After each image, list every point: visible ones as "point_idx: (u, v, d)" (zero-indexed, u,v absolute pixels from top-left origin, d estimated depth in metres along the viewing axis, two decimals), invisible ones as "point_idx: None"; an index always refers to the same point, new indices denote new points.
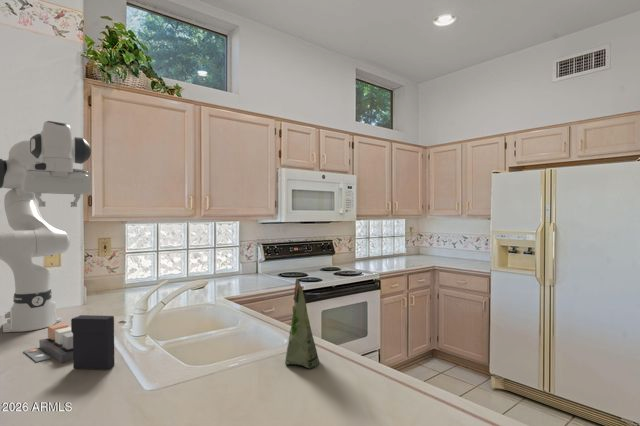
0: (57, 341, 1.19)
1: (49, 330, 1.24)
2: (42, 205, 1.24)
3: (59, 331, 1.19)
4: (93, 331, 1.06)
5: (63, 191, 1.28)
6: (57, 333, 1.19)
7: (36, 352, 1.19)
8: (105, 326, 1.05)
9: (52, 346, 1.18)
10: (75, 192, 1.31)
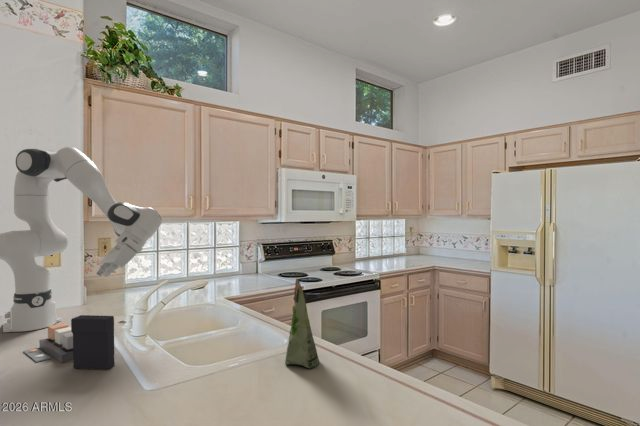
0: (57, 341, 1.19)
1: (49, 330, 1.24)
2: None
3: (59, 331, 1.19)
4: (93, 331, 1.06)
5: None
6: (57, 333, 1.19)
7: (36, 352, 1.19)
8: (105, 326, 1.05)
9: (52, 346, 1.18)
10: None
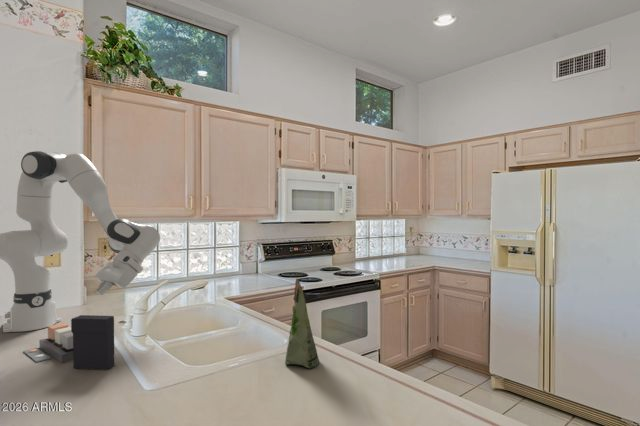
0: (57, 341, 1.19)
1: (49, 330, 1.24)
2: None
3: (59, 331, 1.19)
4: (93, 331, 1.06)
5: None
6: (57, 333, 1.19)
7: (36, 352, 1.19)
8: (105, 326, 1.05)
9: (52, 346, 1.18)
10: None
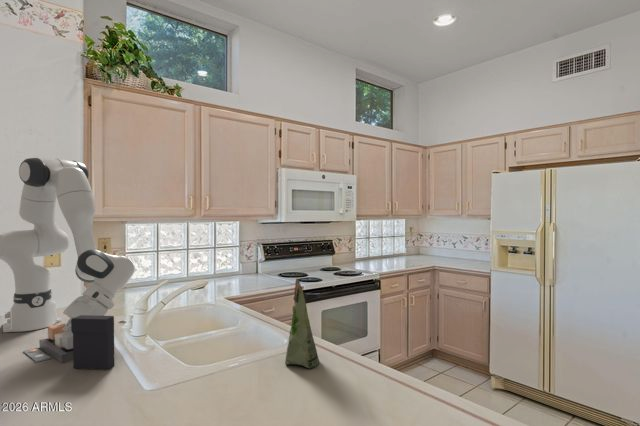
0: (57, 345, 1.19)
1: (49, 330, 1.24)
2: None
3: (59, 335, 1.19)
4: (93, 331, 1.06)
5: None
6: (57, 337, 1.19)
7: (36, 352, 1.19)
8: (105, 326, 1.05)
9: (52, 346, 1.18)
10: None
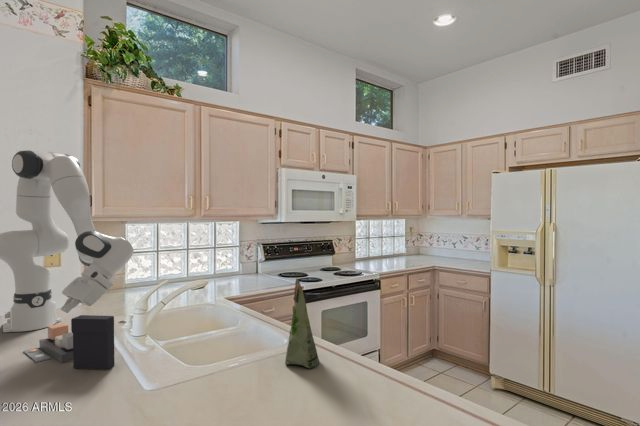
0: None
1: (49, 330, 1.24)
2: None
3: (59, 338, 1.19)
4: (93, 331, 1.06)
5: None
6: (57, 340, 1.19)
7: (36, 352, 1.19)
8: (105, 326, 1.05)
9: (52, 346, 1.18)
10: None
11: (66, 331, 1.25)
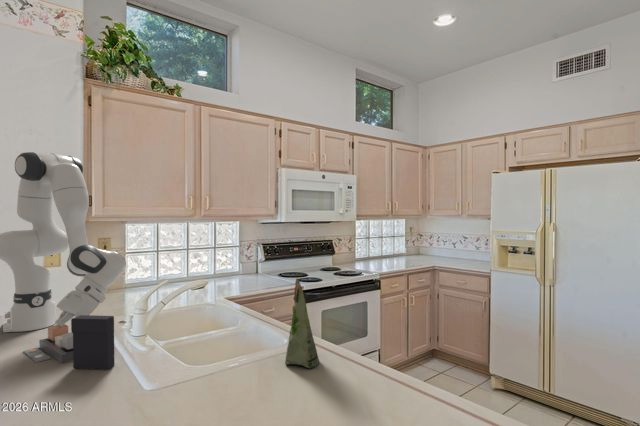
0: None
1: (49, 331, 1.24)
2: None
3: (59, 338, 1.19)
4: (93, 331, 1.06)
5: None
6: (57, 340, 1.19)
7: (36, 352, 1.19)
8: (105, 326, 1.05)
9: (52, 346, 1.18)
10: None
11: (66, 332, 1.25)
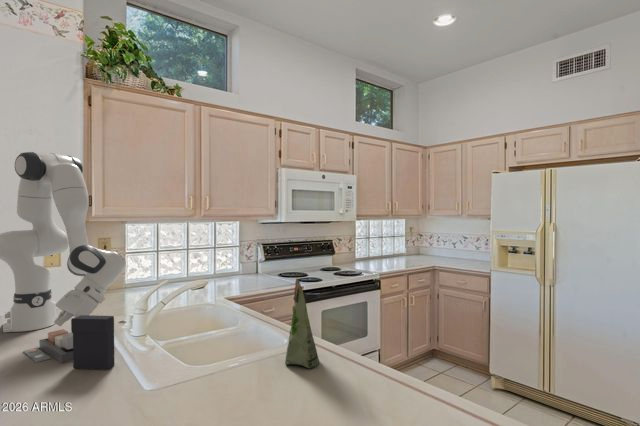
0: None
1: (49, 337, 1.24)
2: None
3: (59, 338, 1.19)
4: (93, 331, 1.06)
5: None
6: (57, 340, 1.19)
7: (36, 352, 1.19)
8: (105, 326, 1.05)
9: (52, 346, 1.18)
10: None
11: None
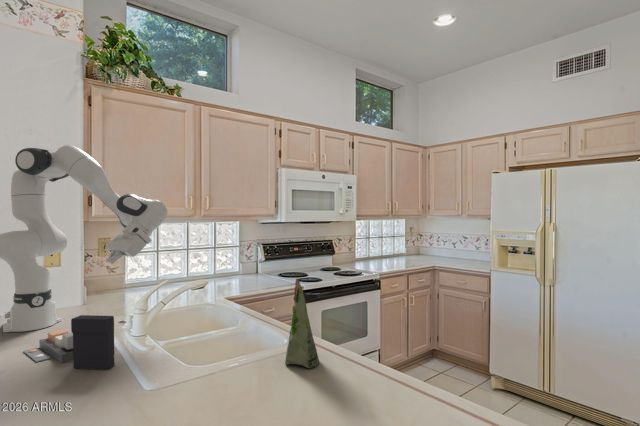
0: None
1: (49, 337, 1.24)
2: None
3: (59, 338, 1.19)
4: (93, 331, 1.06)
5: None
6: (57, 340, 1.19)
7: (36, 352, 1.19)
8: (105, 326, 1.05)
9: (52, 346, 1.18)
10: None
11: None
